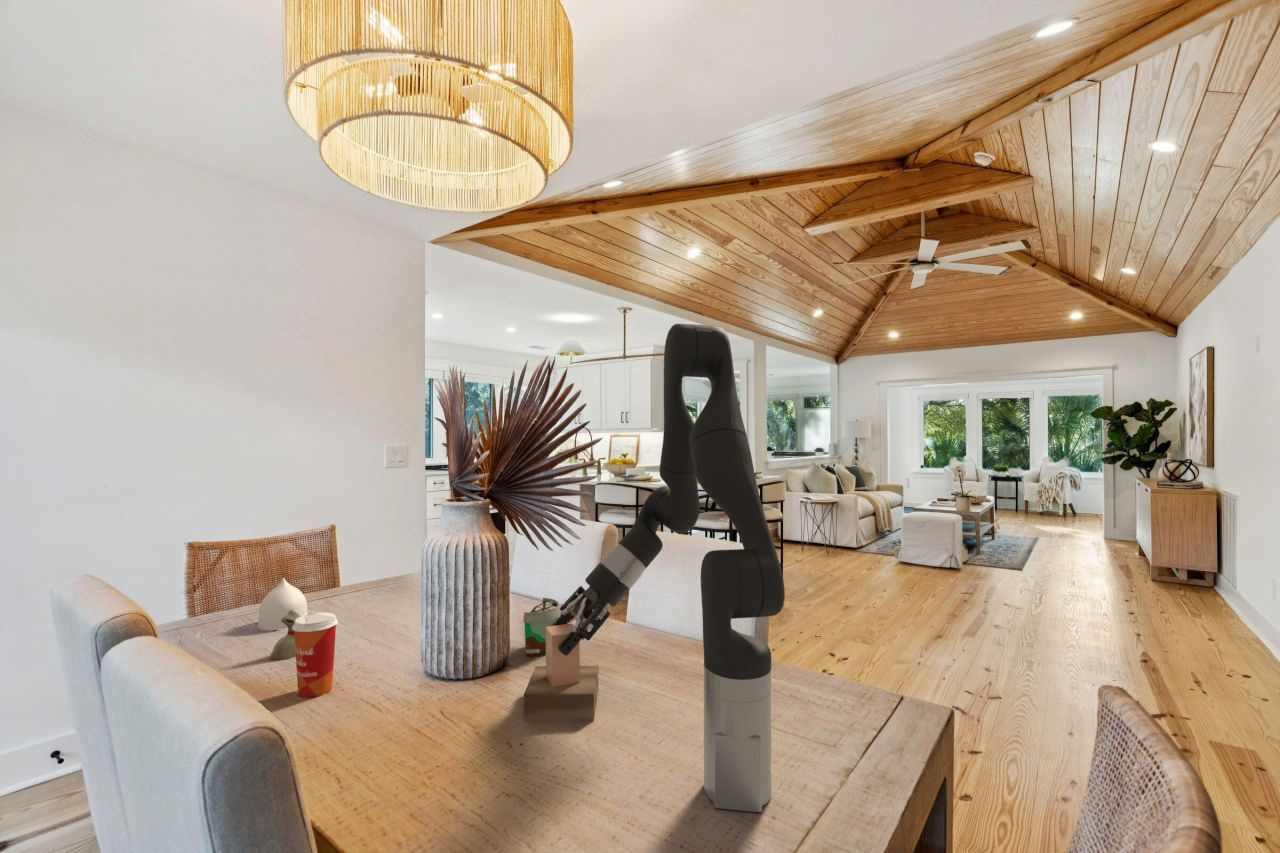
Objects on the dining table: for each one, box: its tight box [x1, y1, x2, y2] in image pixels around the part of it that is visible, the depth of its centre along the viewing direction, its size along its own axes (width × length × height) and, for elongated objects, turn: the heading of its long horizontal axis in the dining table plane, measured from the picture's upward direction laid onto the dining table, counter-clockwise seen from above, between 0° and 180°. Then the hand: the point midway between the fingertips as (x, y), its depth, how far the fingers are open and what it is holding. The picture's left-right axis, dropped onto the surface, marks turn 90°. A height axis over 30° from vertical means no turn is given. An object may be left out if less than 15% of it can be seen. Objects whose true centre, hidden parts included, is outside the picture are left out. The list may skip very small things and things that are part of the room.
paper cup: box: [292, 612, 339, 699], centre depth 113 cm, size 8×8×14 cm
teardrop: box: [257, 576, 309, 631], centre depth 152 cm, size 11×11×12 cm
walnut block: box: [523, 665, 599, 722], centre depth 108 cm, size 12×12×5 cm
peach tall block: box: [545, 622, 581, 687], centre depth 108 cm, size 5×5×9 cm
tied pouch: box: [269, 610, 301, 661], centre depth 132 cm, size 6×8×10 cm
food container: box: [522, 597, 561, 658], centre depth 134 cm, size 12×6×10 cm, turn 168°
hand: (555, 643), depth 107 cm, fingers open, 8 cm apart
